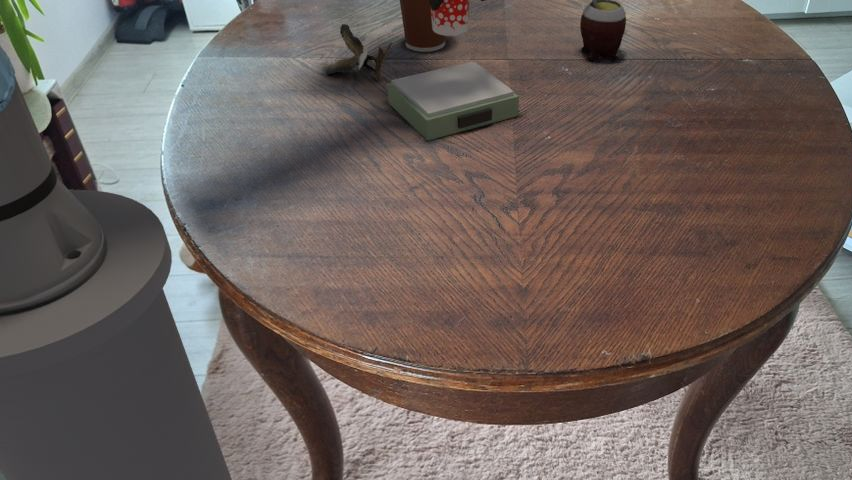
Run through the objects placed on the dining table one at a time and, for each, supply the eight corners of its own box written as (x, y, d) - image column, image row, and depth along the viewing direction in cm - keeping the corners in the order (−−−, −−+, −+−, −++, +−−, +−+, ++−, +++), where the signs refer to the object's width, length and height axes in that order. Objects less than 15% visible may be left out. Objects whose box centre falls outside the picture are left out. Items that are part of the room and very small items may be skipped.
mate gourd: (628, 53, 119) (642, -45, 109) (606, 70, 114) (619, -31, 104) (587, 41, 122) (597, -54, 112) (564, 57, 117) (573, -41, 107)
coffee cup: (402, 31, 123) (398, -44, 116) (456, 34, 123) (455, -41, 115) (392, 53, 116) (386, -25, 109) (449, 56, 116) (447, -22, 108)
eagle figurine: (397, 58, 112) (345, 37, 114) (388, 30, 105) (333, 9, 107) (374, 99, 111) (322, 78, 112) (364, 74, 104) (308, 51, 105)
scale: (429, 142, 96) (428, 117, 93) (388, 103, 104) (386, 79, 101) (520, 117, 101) (521, 93, 99) (474, 82, 109) (474, 59, 107)
